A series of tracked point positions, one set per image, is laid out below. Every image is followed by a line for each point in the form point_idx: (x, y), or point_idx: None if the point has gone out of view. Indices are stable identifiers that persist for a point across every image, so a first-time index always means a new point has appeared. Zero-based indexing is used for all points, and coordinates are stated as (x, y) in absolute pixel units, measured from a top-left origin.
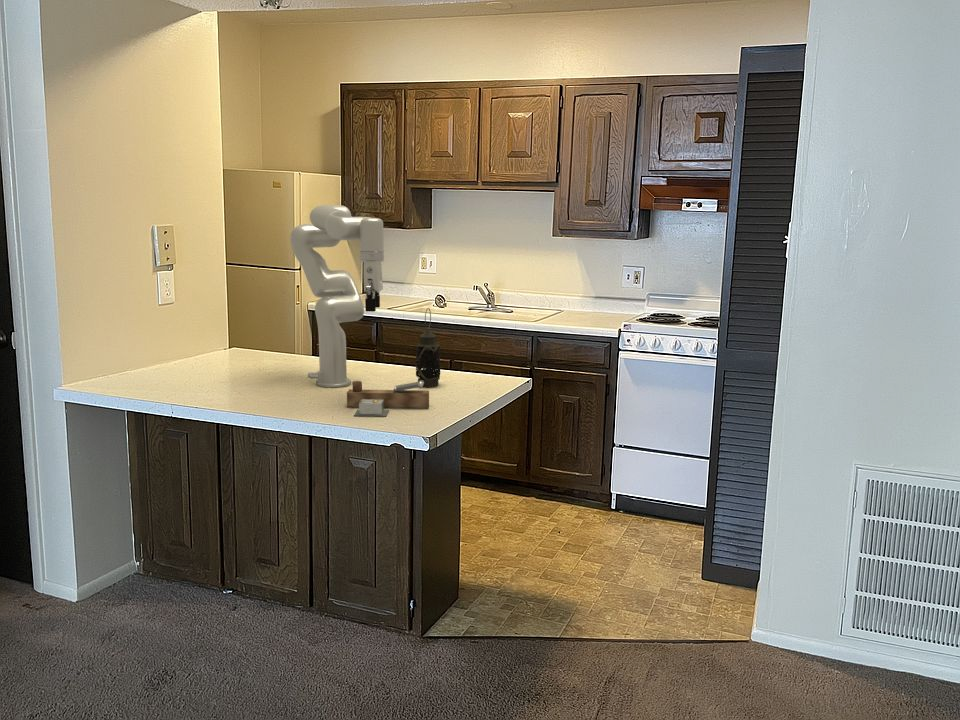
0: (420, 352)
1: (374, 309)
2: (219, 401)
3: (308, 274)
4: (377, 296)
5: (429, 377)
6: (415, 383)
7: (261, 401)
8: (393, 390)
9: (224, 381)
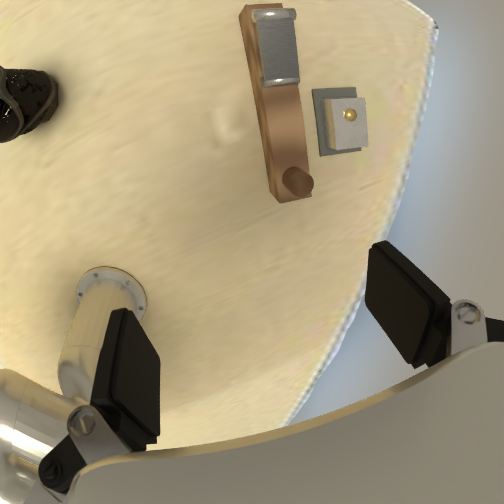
0: None
1: (390, 251)
2: (287, 370)
3: None
4: (125, 401)
5: (48, 82)
6: (276, 27)
7: (278, 335)
8: (268, 90)
9: (179, 411)
